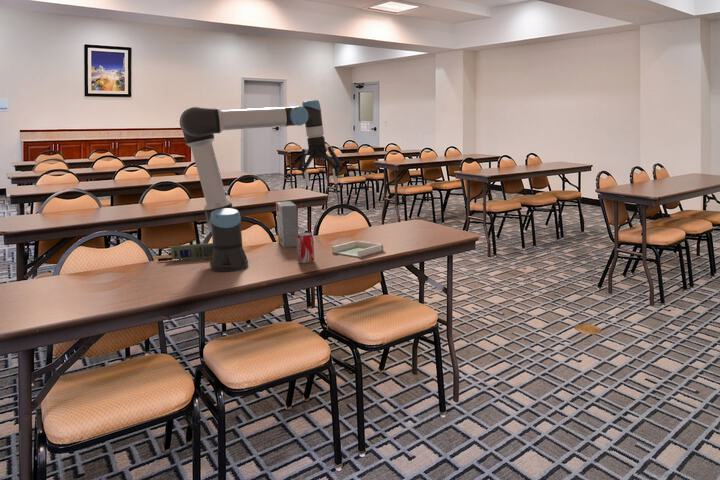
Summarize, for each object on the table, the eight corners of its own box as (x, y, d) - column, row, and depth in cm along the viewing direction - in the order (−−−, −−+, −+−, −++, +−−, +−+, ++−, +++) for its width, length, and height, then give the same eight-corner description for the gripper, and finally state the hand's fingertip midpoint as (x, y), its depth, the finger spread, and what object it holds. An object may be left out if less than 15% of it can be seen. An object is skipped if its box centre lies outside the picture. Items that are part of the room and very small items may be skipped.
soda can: (311, 264, 232) (310, 235, 229) (295, 263, 233) (293, 235, 231) (316, 260, 238) (315, 232, 236) (300, 259, 240) (299, 232, 237)
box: (359, 257, 240) (359, 250, 239) (332, 253, 250) (332, 246, 250) (383, 250, 252) (383, 244, 251) (356, 246, 262) (356, 240, 261)
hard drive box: (277, 242, 279) (275, 201, 275) (293, 240, 281) (291, 200, 277) (283, 248, 264) (280, 205, 260) (299, 246, 266) (297, 204, 263)
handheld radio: (218, 258, 249) (158, 263, 242) (217, 257, 252) (158, 262, 246) (216, 243, 248) (156, 248, 241) (216, 242, 251) (157, 247, 244)
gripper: (345, 133, 247) (350, 181, 251) (293, 138, 255) (299, 185, 259) (339, 134, 240) (345, 184, 244) (286, 140, 248) (293, 187, 253)
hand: (321, 184), depth 252 cm, fingers open, 13 cm apart
